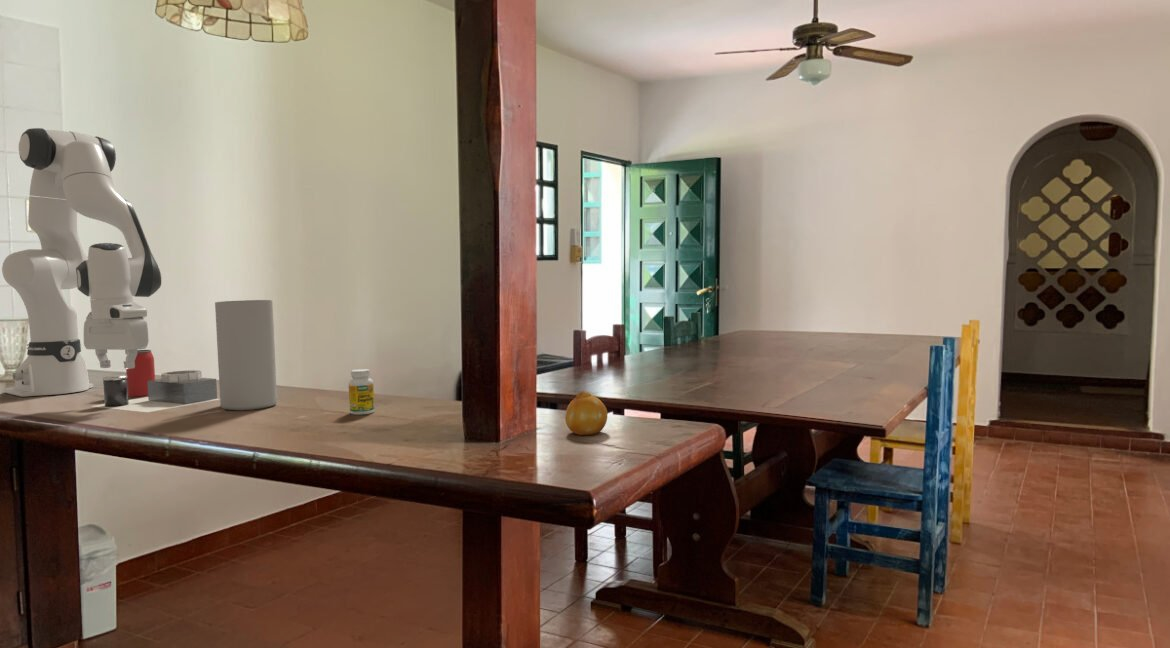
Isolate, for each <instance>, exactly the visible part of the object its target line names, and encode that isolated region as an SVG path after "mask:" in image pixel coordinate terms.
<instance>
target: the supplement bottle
mask: <svg viewBox="0 0 1170 648" xmlns="http://www.w3.org/2000/svg"><path fill="white" fill-rule="evenodd" d="M370 375H371V372H370V369H368V368H359V369H352V370H351V371H350V376H351V379H350V380H349V382H348V398H349V413H350V414H351V415H354V416H357V415H359V416H361V415H370V414H372V413H374V412H375V394H374V393H375V392H374V391H375V390H374V380H373V379H372V378H370Z"/></svg>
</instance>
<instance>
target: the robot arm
mask: <svg viewBox="0 0 1170 648" xmlns="http://www.w3.org/2000/svg"><path fill="white" fill-rule="evenodd" d="M18 153H19V159H20V161H22V163H23V164H24V165H25V166H27V167H28V168H31V169H33V171H32V174H31V175H32V176H31V179H30V187H29V196H28V197H29V198H28V216H27V217H28V218H27V222H28V227H29V228H30V229H31V231H33V232H34V233H36V235H37V237H38V240H39V243H40V245H41V249H39V248H38V249H37V248H36V249H34V248H33V249H31V248H29V249H24V250H20V251H16V252H12V253H10V254H8V256H6V257H5V259H4V260H3V263H2V267H1V272H2V276H3V279H4V280H5V282H6V283H7V284H8V285H9V286H11V287H12V288H13V289H14V290H15V291H16V292H17V293H18V295H19V296H20V298H21V300H22V302H23V304H24V306H25V307H24V308H25V310H26V313H27V317H28V319H27V320H28V326H29V335H30V342H28V344H26V346H27V347H26V349H27V353H26V355H27V357H26V358H25V360H23V361H22V362H21V364H20V365H19V366H18V367H17V368H16V369H15V370H14V372H13V373H12V379H13V381H14V386H12V387H9V388H5V389H4V393H6V394H10V395H14V396H17V397H35V396H49V395H50V396H52V395H63V394H70V393H78V392H84V391H87V390H89V389H91V388H94V383H92V382H91V383H90V380H89V374H88V368H87V367H88V366H87V362H86V358H84V357H83V356H82V355H81V354H80V353H81V352H82V344H81V339H79V331H78V329H79V327H78V315H77V314H78V313H77V311H76V310H75V309H74V307H72V306H71V305H69V304H68V303H67V301H66V299H65V298H64V295H63V292H62V290H72V289H75V288H77V290H78V291H79V292H80V293H81V294H83V295H85V296H86V297H89V301H90V310H91V311H90V312H88V314H87V316H86V317H85V319H86V320H85V321H84V323H83V346H84V348H85V349H86V350H95V351H94V352H95V355H96V357H97V359H98V361H99V367H100V368H101V369H107V368H108V369H109V368H111V366H112V365H111V360H110V359H109V358H108V355H107V354H108V351H109V350H110V351H112V350H113V351H114V350H115V351H116V350H117V351H118V350H121V351H124V353H125V355H126V357H127V358H126V357H125V361H123V367H124V369H125V370H126V369H132V368H135V359H136V356H137V350H146V349H147V348H148V345H149V341H150V340H149V339H150V338H149V326H148V323H147V319H146V318H147V316H148V310H147V308H146V307H144V306H142V305H140V304H138V303H137V302H134V298H133V297H140V298H150V297H151V296H152V295H154V294H155V293H156V292H158V290H159V289H160V288H161V286H162V273H161V270H160V268H159V265H158V263H157V261H156V258H155V257H154V255H153V253H152V251H151V248H150V246H149V243H148V241H147V237H146V235H145V232H144V231H143V227H142V225H141V222H140V219H139V217H138V215H137V213H136V211H135V208H134V207H133V205H132V203H131V202H130V201H129V200H127V199H125V198H123V197H122V196H121V195H120V193H118V191H117V190H116V188H115V186H114V183H113V177H112V173H111V172H112V171H113V170H114V168H115V165H116V161H117V157H116V155H117V154H116V149H115V146H114V145H113V143H112V142H111V141H110V140H107V139H105V138H103V137H100V136H92V135H88V134H84V133H80V132H76V131H70V130H69V131H66V130H65V131H64V130H55V129H44V128H42V127H40V128H39V127H35V128H34V127H33V128H32V127H31V128H27V129H26V130H25V131H24V132H22V134H21V135H20V139H19V141H18ZM78 214H79V215H81V216H84V217H85V218H89V219H92V220H96V221H99V222H103V223H106V224H108V225H111V226H112V227H115V228H117V229H118V230H119V231H120V232H121V233H122V235H123V236H124V240H125V242H126V245H127V247H128V250H129V252H130V255H131V257H128V253H127V250H126V248H125V246H124V245H122V244H120V243H111V242H109V243H108V242H103V243H102V242H100V243H94V244H91V245H89V247H88V251H87V252H88V255H87V254H86V253H85V251H84V250H83V249H84V248H83V247H82V244H81V241H80V238H79V233H78V224H77V223H78Z"/></svg>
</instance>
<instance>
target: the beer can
mask: <svg viewBox="0 0 1170 648" xmlns="http://www.w3.org/2000/svg"><path fill="white" fill-rule="evenodd" d="M126 358H127V356H126V357H125V359H126ZM155 370H156V369H155V357H154V355H153V353H152V350H151V349H138V350H137V356H136V359H135V368H132V369H125V371H126V374H125V375H127V386H128V398H145V397H148V383H147V381H150V380H156V374H155V373H156V371H155Z"/></svg>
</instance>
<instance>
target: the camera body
mask: <svg viewBox="0 0 1170 648" xmlns="http://www.w3.org/2000/svg"><path fill="white" fill-rule="evenodd" d="M160 376H161V378H157V379H155V380H150V381H147V383H148V396H147V397H148V400H149V401H156V402H167V403H177V404H189V403H195V402H201V401H206V400H212V399H218V385H217V378H211V377H203V376H202V370H195V369H192V370H191V369H189V370H174V371H166V372H163V373H161V375H160Z"/></svg>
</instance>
